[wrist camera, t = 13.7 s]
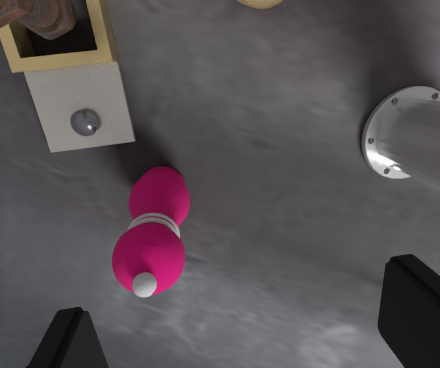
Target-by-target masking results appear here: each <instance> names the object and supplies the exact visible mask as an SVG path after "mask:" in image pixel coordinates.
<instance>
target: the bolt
mask: <svg viewBox="0 0 440 368" xmlns="http://www.w3.org/2000/svg"><path fill="white" fill-rule="evenodd" d="M14 20H16V21H19V22H20V23H21V24H23V25H24V26H25V27H27V28H29V29H30V30H32V31H33V32H35V33H37V34H38V35H40V36H42V37H44V38H45V39H49V40H52V39H54V38H57V37H59V36H61V35H63V34H68V33H70V32H71V31H72V30H73V29H74V27H75V25H76V11H75V9H74V7H73V6H72V5H71V1H70V0H0V28H2V27H4V26H5V25H7V24H9V23H10V22H12V21H14Z"/></svg>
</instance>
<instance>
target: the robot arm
mask: <svg viewBox="0 0 440 368" xmlns="http://www.w3.org/2000/svg"><path fill="white" fill-rule="evenodd" d="M361 144H362V152H363V156H364V159H365V160H366V162H367V164H368V165H369V166H370V168H371V169H372V170H374V171H375V172H377V173H378V174H380V175H382V176H384V177H388V178H392V179H401V178H408V177H413V178H415V179H417V180H420V181H422V182H424V183H426V184H428V185H430V186H432V187H434V188H436V189H439V190H440V91H438V90H436V89H434V88H431V87H426V86H411V87H405V88H402V89H399V90H397V91H395V92H393V93H392V94H390V95H388V96H387V97H386V98H385V99H383V100H382V101H381V102H380V103H379V104H378V105H377V106H376V107H375V109H374V110H373V111H372V113H371V114H370V116H369V118H368V120H367V122H366V124H365V127H364V130H363V133H362V141H361ZM378 329H379V332H380V334H381V336H382V338H383V339H384V340H385V342H386V343H387V344H388V346H389V347H390V348H391V350H392V351H393V353H394V354H395V355H396V357H397V358H398V359H399V361H400V362H401V363H402V365H403V366H404V368H440V276H439V275H438V274H437V273H435V272H434V271H433V270H432V269H430V268H429V267H428V266H427V265H425V264H424V263H423V262H422V261H421V260H419V259H418V258H417V257H416V256H414V255H412V254H406V255H400V256H394V257H391V258H390V260H389V262H388V263H386V266H385V273H384V280H383V288H382V295H381V303H380V310H379V318H378ZM26 368H109V367H108V364H107V362H106V359H105V356H104V353H103V351H102V348H101V345H100V342H99V339H98V337H97V334H96V331H95V328H94V326H93V323H92V320H91V317H90V315H89V312H88V311H83V309H82V308H81V307H75V308H69V309H62V310H59V311H58V312H57V313H56V315H55V317H54V318H53V320H52V322H51V324H50V326H49V328H48V330H47V332H46V333H45V335H44V337H43V339H42V341H41V343H40V345H39V347H38V348H37V350H36V352H35V354H34V356H33V358H32V360H31V362H30V363H29V365H28V366H27V367H26Z"/></svg>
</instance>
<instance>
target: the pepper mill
mask: <svg viewBox="0 0 440 368" xmlns="http://www.w3.org/2000/svg"><path fill="white" fill-rule="evenodd" d="M189 205H190V196H189V192H188V190H187V188H186V185H185V181H184V179H183V177H182V176H181V175H180V174H179V173H178V172H177V171H175V170H174V169H172V168H169V167H162V166H160V167H154V168H152V169H150V170H148V171H147V172H146V173H144V175H143V176H142V177H141V179H139V180H138V181H137V182H136V183H135V185H134V186H133V188H132V190H131V193H130V197H129V209H130V214H131V216H132V218H133V221H132V222H131V224H130V225H129V227H128V230H127V232H125V233H124V234H123V235H122V236H121V237H120V239H119V240H118V242H117V244H116V245H115V248H114V252H113V255H112V267H113V271H114V274H115V277H116V278H117V280H118V281H119V282H120V283H121V285H122V286H123V287H125V288H126V289H127V290H129V291H131V292H134V293H135V294H136V295H137V296H139V297H148V296H150V295H154V294H157V293H160V292H162V291H164V290H167V289H168V288H169V287H171V286H172V285H173V284H174V283H175V282H176V281H177V280H178V278H179V277H180V275H181V273H182V271H183V268H184V263H185V251H184V246H183V243H182V241H181V240H180V232H179V229H178V226H179V225H180V224H181V223H182V222H183V220H184V219H185V217H186V215H187V214H188V211H189Z"/></svg>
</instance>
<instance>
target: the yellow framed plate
mask: <svg viewBox="0 0 440 368" xmlns="http://www.w3.org/2000/svg"><path fill="white" fill-rule="evenodd" d="M86 3H87V7H88V12H89V16H90V20H91V24H92V28H93V32H94V36H95V41H96V45H97V49H98V50H92V51H83V52H74V53H65V54H56V55H47V56H37V57H36V56H35V53H34V49H33V46H32V43H31V40H30V37H29V34H28V30H27V27H25V26H24V25H23V24H21V23H20V22H19V21H16V20H14V21H12V22H10V23H9V24H7V25H5V26H4V27H2V28H0V39H1V42H2V45H3V48H4V51H5V53H6V56H7V59H8V62H9V65H10V68H11V71H12V73H19V72H24V74H25V77H26V80H27V83H28V86H29V89H30V92H31V95H32V98H33V101H34V104H35V107H36V110H37V113H38V116H39V119H40V122H41V125H42V128H43V131H44V133H45V136H46V139H47V142H48V145H49V148H50V151H51V152H59V151H66V150H74V149H82V148H89V147H97V146H104V145H112V144H120V143H127V142H135V141H136V134H135V130H134V125H133V121H132V116H131V112H130V107H129V103H128V98H127V93H126V89H125V84H124V80H123V75H122V71H121V66H120V61H119V57H118V52H117V48H116V43H115V39H114V34H113V29H112V25H111V20H110V16H109V11H108V7H107V2H106V0H86Z"/></svg>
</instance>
